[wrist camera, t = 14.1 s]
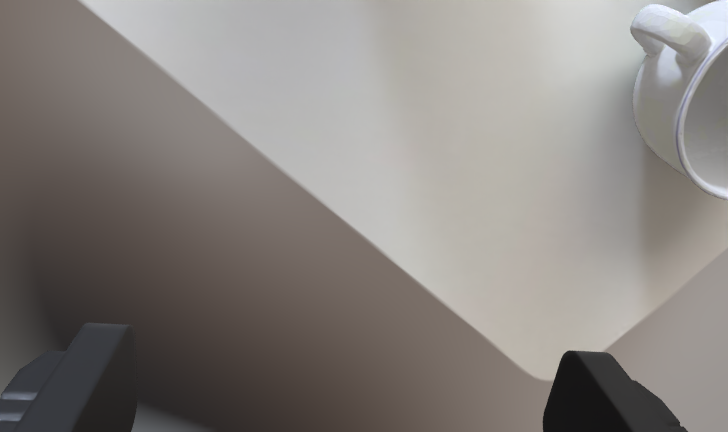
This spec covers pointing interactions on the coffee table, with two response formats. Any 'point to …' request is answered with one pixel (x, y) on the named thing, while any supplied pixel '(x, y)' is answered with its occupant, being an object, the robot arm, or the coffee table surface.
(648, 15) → the teacup
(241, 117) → the coffee table surface
